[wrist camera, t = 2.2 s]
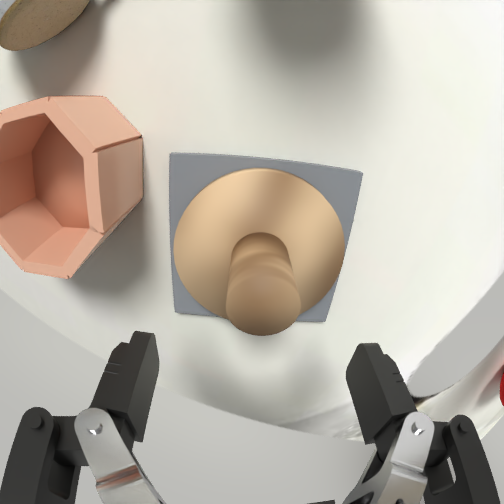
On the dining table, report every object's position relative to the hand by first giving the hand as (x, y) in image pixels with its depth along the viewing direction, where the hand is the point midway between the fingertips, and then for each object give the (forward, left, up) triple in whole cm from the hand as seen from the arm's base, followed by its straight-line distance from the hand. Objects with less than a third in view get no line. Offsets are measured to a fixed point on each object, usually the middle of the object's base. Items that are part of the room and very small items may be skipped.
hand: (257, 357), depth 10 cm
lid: (0, 0, -10) cm, 10 cm away
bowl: (+13, -5, -10) cm, 17 cm away
